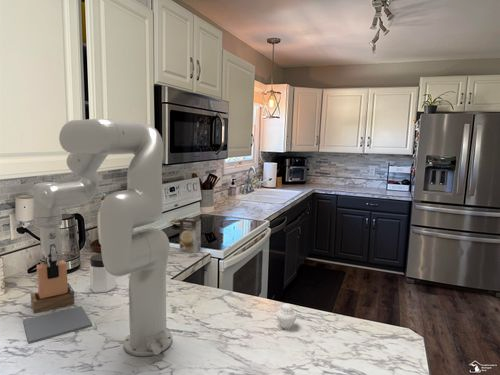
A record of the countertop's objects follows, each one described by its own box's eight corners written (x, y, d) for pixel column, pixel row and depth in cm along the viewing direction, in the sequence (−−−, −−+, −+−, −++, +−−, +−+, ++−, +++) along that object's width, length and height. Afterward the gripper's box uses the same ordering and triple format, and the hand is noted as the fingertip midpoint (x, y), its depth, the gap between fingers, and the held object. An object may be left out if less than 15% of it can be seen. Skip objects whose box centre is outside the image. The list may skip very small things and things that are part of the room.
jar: (118, 289, 129) (117, 257, 128) (95, 295, 124) (94, 262, 123) (110, 281, 136) (109, 251, 135) (88, 286, 131) (87, 255, 130)
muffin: (279, 332, 103) (279, 309, 102) (273, 321, 109) (274, 300, 108) (299, 330, 104) (300, 308, 103) (292, 320, 110) (293, 298, 109)
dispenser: (75, 304, 117) (74, 290, 116) (34, 313, 110) (33, 299, 109) (69, 295, 124) (69, 282, 123) (31, 303, 117) (30, 290, 116)
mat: (92, 325, 104) (92, 324, 104) (28, 343, 94) (28, 341, 94) (81, 307, 115) (81, 305, 115) (23, 322, 105) (23, 320, 105)
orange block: (67, 292, 117) (66, 263, 116) (40, 298, 112) (38, 268, 111) (65, 288, 120) (64, 260, 119) (38, 294, 115) (36, 265, 114)
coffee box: (178, 251, 176) (178, 219, 174) (184, 247, 182) (184, 217, 180) (195, 253, 173) (195, 221, 171) (201, 249, 179) (201, 218, 177)
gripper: (66, 224, 109) (69, 281, 111) (57, 215, 122) (60, 266, 124) (38, 227, 104) (42, 286, 107) (32, 217, 117) (35, 270, 120)
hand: (52, 275), depth 115 cm, fingers closed on orange block, 4 cm apart
